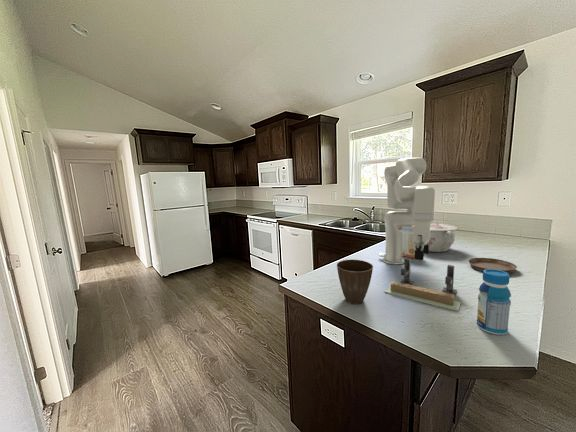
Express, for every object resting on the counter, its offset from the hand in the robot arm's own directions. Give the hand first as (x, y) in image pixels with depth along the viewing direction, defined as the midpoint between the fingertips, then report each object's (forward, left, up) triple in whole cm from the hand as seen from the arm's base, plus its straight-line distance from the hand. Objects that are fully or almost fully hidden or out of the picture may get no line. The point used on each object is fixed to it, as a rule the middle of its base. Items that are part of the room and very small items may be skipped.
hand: (421, 256), depth 105 cm
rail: (0, -1, -18) cm, 18 cm away
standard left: (-9, +11, -18) cm, 23 cm away
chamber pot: (-9, +81, -19) cm, 84 cm away
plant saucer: (+23, +57, -19) cm, 65 cm away
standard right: (+9, +11, -18) cm, 23 cm away
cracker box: (-20, +57, -19) cm, 63 cm away
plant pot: (-22, -19, -19) cm, 34 cm away
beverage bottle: (+24, -11, -19) cm, 32 cm away
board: (0, -1, -18) cm, 18 cm away
